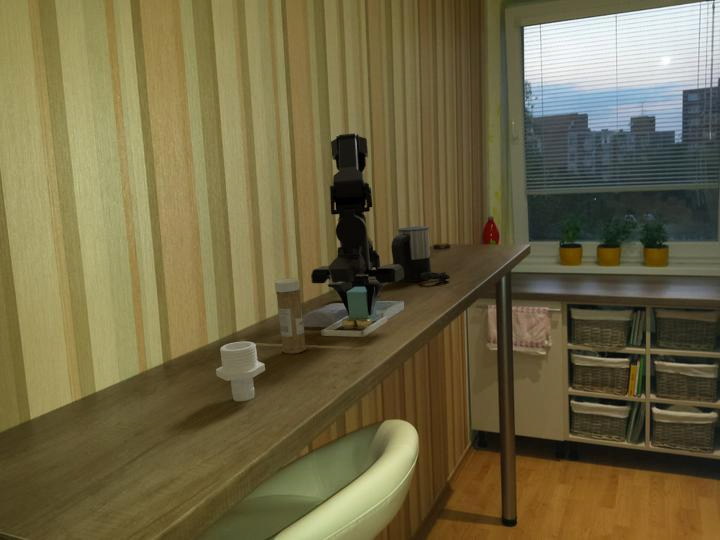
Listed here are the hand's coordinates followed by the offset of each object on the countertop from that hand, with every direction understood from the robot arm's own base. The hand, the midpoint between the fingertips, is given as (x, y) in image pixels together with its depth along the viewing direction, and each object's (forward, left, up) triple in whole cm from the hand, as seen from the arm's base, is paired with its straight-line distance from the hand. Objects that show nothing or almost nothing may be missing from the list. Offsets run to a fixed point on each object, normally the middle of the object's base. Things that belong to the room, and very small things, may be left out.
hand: (360, 314), depth 135 cm
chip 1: (+2, -1, -2) cm, 4 cm away
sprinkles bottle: (+19, -5, -3) cm, 20 cm away
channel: (-9, 0, -3) cm, 9 cm away
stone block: (-3, -9, -3) cm, 10 cm away
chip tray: (+3, 0, -3) cm, 4 cm away
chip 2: (+2, +2, -2) cm, 4 cm away
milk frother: (-51, -3, -3) cm, 52 cm away
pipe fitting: (+43, 0, -3) cm, 43 cm away
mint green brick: (-1, 0, -2) cm, 2 cm away
